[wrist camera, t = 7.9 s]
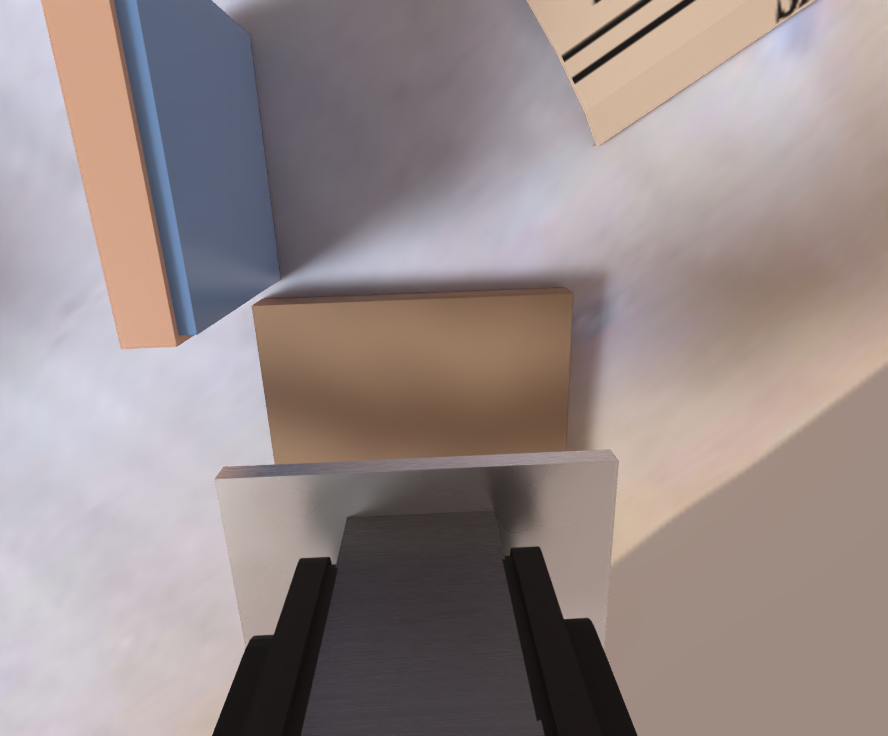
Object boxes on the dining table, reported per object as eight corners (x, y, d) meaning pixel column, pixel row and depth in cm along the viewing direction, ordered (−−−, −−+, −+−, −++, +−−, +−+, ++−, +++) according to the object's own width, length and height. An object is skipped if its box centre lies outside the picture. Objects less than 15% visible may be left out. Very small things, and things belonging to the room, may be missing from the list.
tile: (198, 29, 17) (18, -98, 9) (250, 28, 17) (113, -100, 9) (237, 285, 19) (120, 349, 12) (282, 283, 19) (195, 346, 12)
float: (223, 467, 11) (-133, 961, 4) (610, 449, 11) (929, 888, 4) (257, 658, 13) (45, 1257, 6) (596, 639, 13) (812, 1195, 6)
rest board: (261, 298, 20) (251, 306, 18) (564, 287, 20) (573, 293, 19) (288, 493, 22) (281, 509, 21) (556, 479, 22) (564, 495, 21)
